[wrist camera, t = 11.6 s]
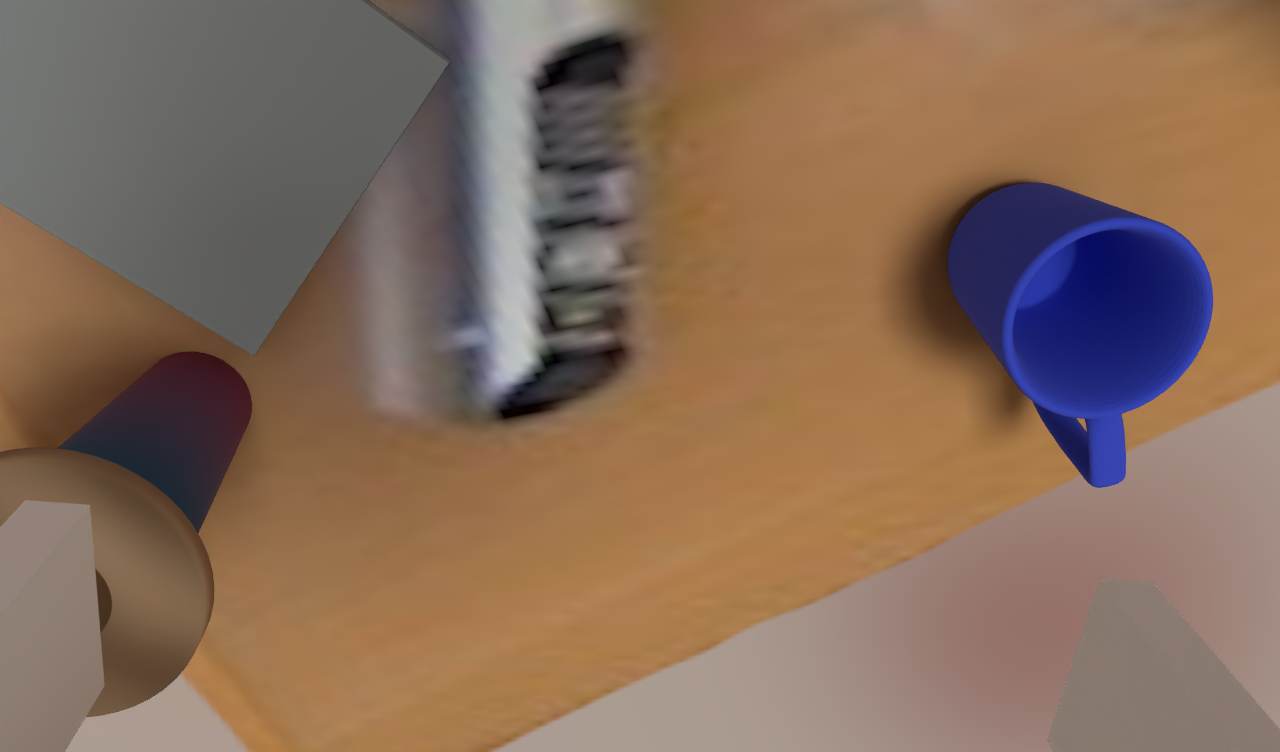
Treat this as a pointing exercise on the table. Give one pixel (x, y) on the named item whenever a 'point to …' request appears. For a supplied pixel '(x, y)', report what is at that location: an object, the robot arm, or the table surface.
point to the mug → (1081, 310)
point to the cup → (174, 428)
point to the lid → (126, 566)
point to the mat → (203, 138)
